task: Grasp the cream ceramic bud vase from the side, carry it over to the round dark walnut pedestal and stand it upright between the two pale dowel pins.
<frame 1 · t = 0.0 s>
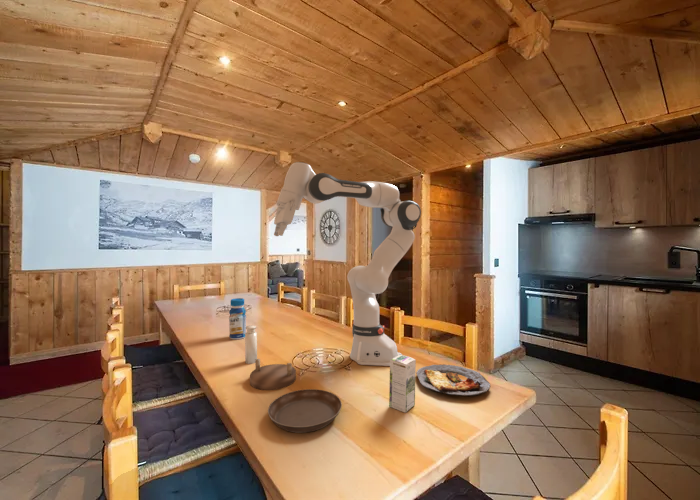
hand: (277, 235, 120), 52 cm above the table, tool tilted 20°, fingers open, 8 cm apart
food plate: (451, 384, 109), on the table
pedestal: (273, 379, 112), on the table
bud vase: (251, 361, 129), on the table
beverage bottle: (237, 337, 163), on the table
syrup box: (402, 407, 94), on the table
plant saucer: (305, 417, 89), on the table
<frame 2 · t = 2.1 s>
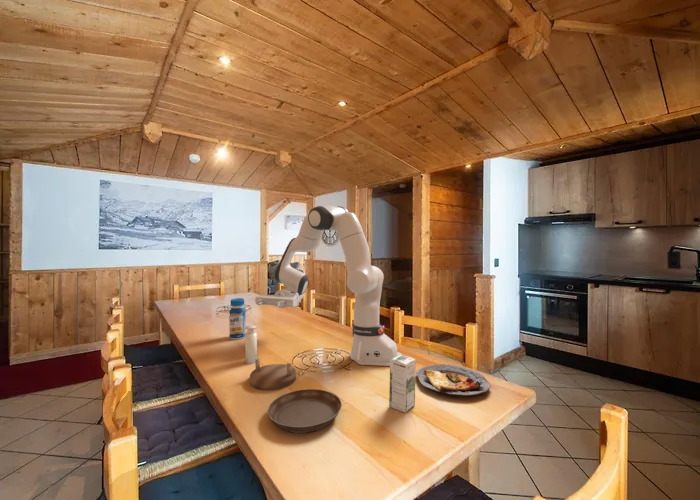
hand: (267, 303, 140), 22 cm above the table, tool horizontal, fingers open, 8 cm apart
nothing on the table moved.
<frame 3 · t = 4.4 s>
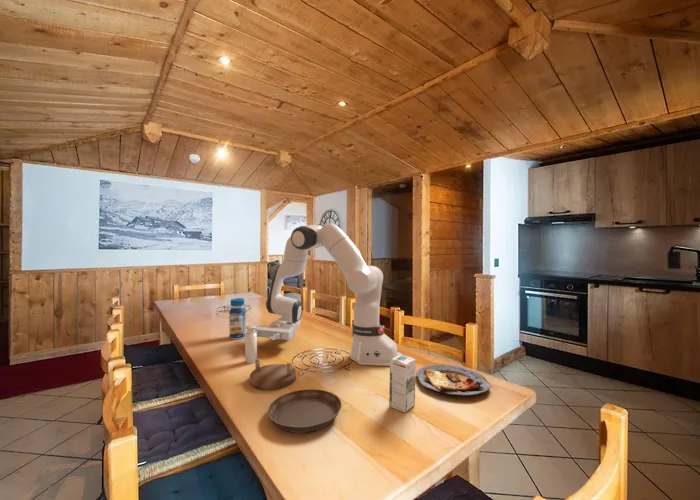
hand: (262, 337, 137), 8 cm above the table, tool horizontal, fingers open, 8 cm apart
nothing on the table moved.
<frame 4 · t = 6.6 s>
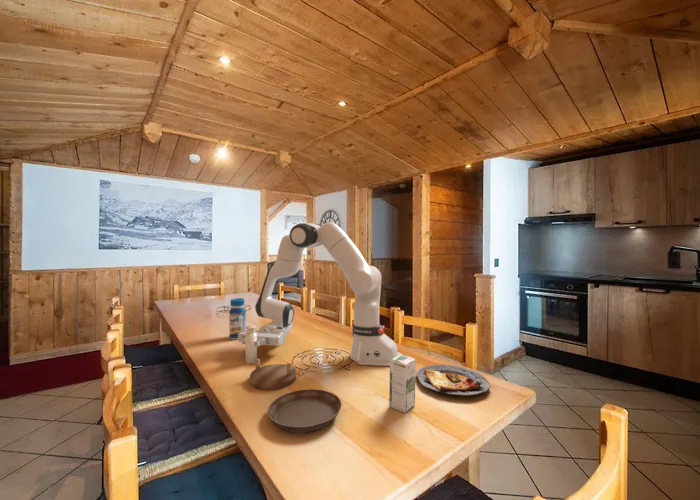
hand: (249, 343, 128), 8 cm above the table, tool horizontal, fingers closed on bud vase, 5 cm apart
bud vase: (251, 361, 129), on the table, touching gripper
everything else where it was.
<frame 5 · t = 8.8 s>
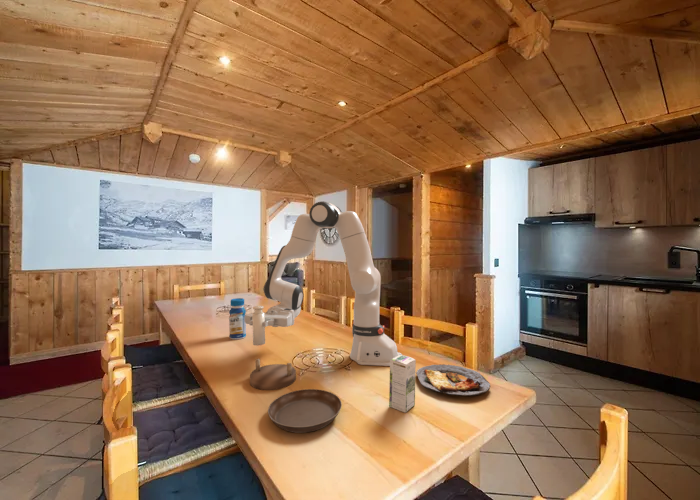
hand: (257, 324, 122), 17 cm above the table, tool horizontal, fingers closed on bud vase, 5 cm apart
bud vase: (259, 343, 123), point 9 cm above the table, touching gripper
everything else where it was.
when the fingers open (11 cm above the table, at t = 11.3 s): bud vase stays where it is, resting on pedestal.
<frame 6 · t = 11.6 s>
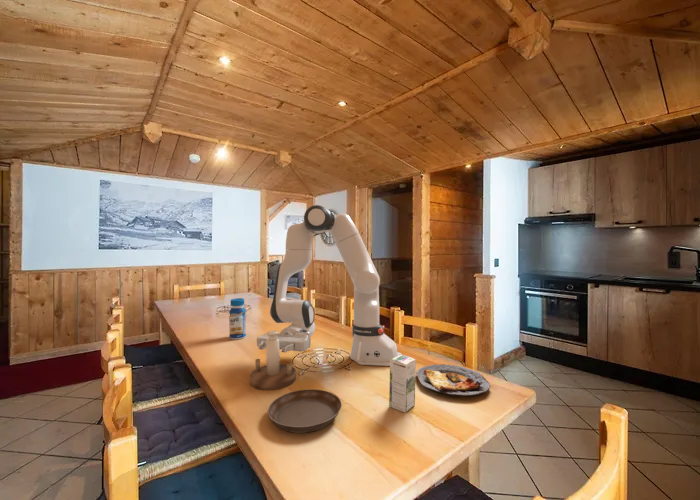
hand: (271, 348, 111), 11 cm above the table, tool horizontal, fingers open, 8 cm apart
bud vase: (273, 372, 112), point 3 cm above the table, touching pedestal
everything else where it was.
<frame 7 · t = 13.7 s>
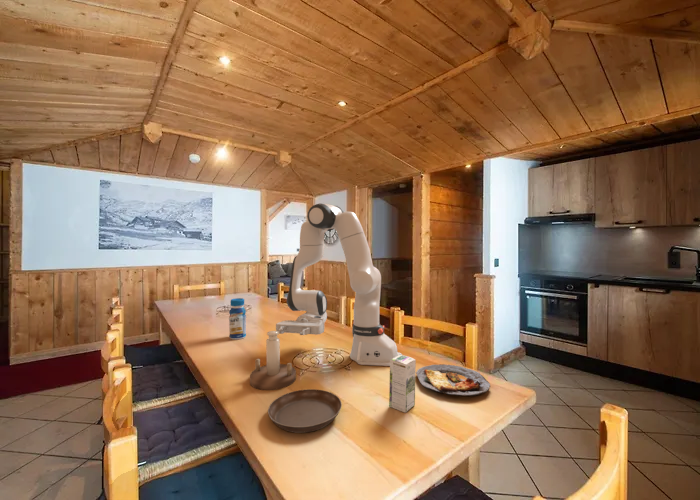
hand: (290, 332, 124), 14 cm above the table, tool horizontal, fingers open, 8 cm apart
nothing on the table moved.
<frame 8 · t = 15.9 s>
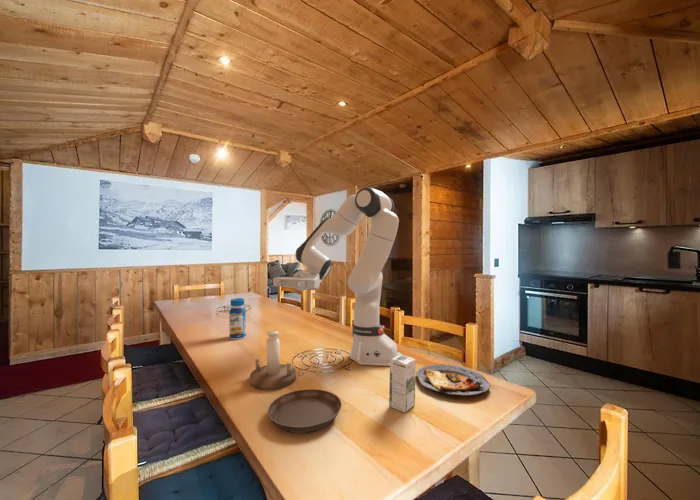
hand: (286, 284, 129), 32 cm above the table, tool horizontal, fingers open, 8 cm apart
nothing on the table moved.
at the end: bud vase 0.0 cm from the pedestal (horizontally); bud vase tilted 0°; bud vase touching pedestal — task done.
